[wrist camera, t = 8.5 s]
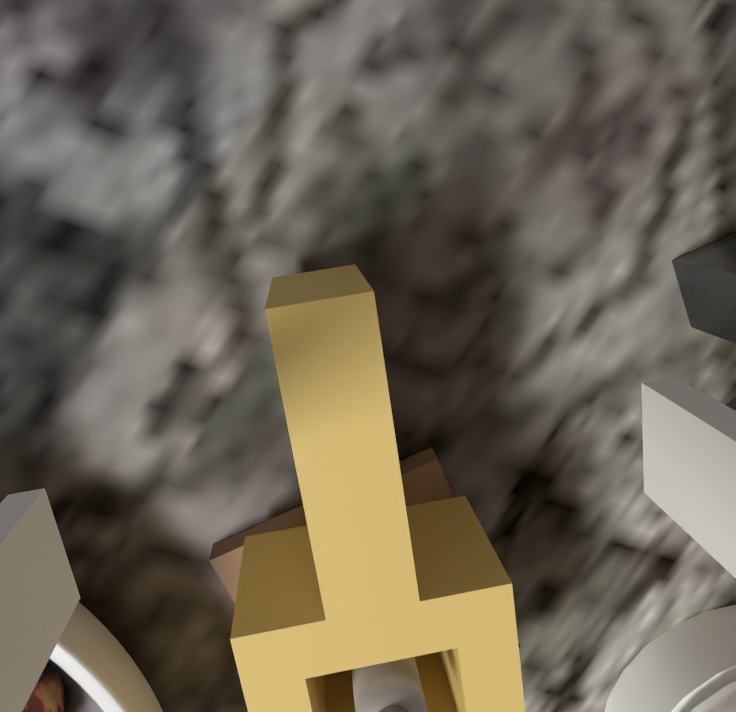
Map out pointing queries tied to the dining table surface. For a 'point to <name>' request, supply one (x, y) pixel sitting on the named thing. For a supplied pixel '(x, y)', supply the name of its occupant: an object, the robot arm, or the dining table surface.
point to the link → (362, 536)
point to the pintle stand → (376, 682)
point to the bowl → (90, 673)
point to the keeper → (710, 289)
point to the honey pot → (683, 669)
